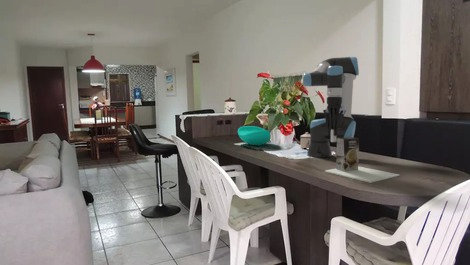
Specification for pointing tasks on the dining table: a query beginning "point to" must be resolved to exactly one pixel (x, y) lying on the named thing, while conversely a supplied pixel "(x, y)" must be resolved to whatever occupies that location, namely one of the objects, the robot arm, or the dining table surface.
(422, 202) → the dining table surface
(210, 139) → the dining table surface
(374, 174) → the mat
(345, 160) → the coffee box
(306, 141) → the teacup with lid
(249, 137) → the table top decor
